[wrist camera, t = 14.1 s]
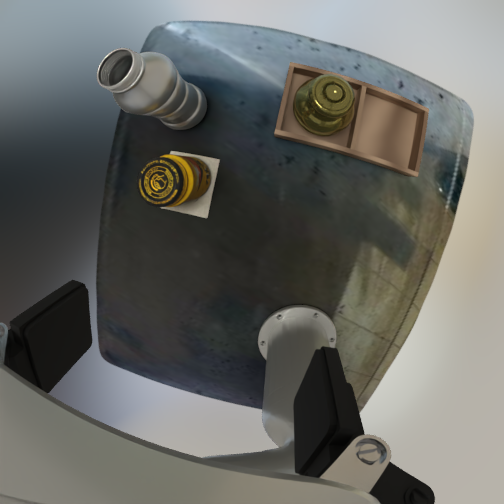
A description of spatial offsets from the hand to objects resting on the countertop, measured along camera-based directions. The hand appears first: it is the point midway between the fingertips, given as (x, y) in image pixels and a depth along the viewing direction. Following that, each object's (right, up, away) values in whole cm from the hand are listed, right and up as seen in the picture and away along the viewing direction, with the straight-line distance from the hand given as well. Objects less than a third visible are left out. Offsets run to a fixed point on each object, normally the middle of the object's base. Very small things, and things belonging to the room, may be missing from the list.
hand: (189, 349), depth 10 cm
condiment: (-6, +13, +29) cm, 32 cm away
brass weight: (+11, +22, +23) cm, 34 cm away
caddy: (+16, +22, +24) cm, 36 cm away
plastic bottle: (-7, +24, +26) cm, 35 cm away
